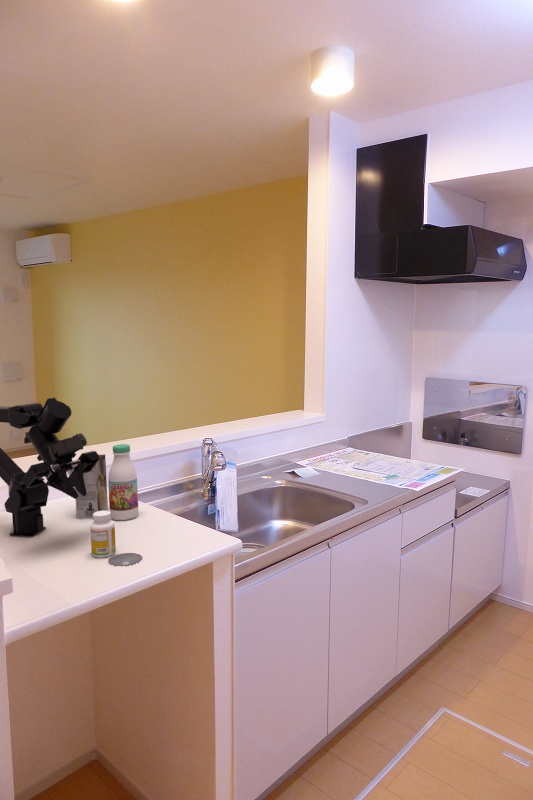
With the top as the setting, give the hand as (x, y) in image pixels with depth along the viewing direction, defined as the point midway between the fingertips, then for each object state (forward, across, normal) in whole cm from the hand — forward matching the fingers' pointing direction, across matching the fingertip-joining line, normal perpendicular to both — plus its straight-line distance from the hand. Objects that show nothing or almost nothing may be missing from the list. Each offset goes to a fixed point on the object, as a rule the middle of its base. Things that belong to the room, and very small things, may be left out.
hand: (81, 496), depth 137 cm
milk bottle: (+3, +22, +16) cm, 27 cm away
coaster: (+19, 0, -1) cm, 19 cm away
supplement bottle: (+14, 0, +4) cm, 14 cm away
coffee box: (-4, +19, +22) cm, 30 cm away
